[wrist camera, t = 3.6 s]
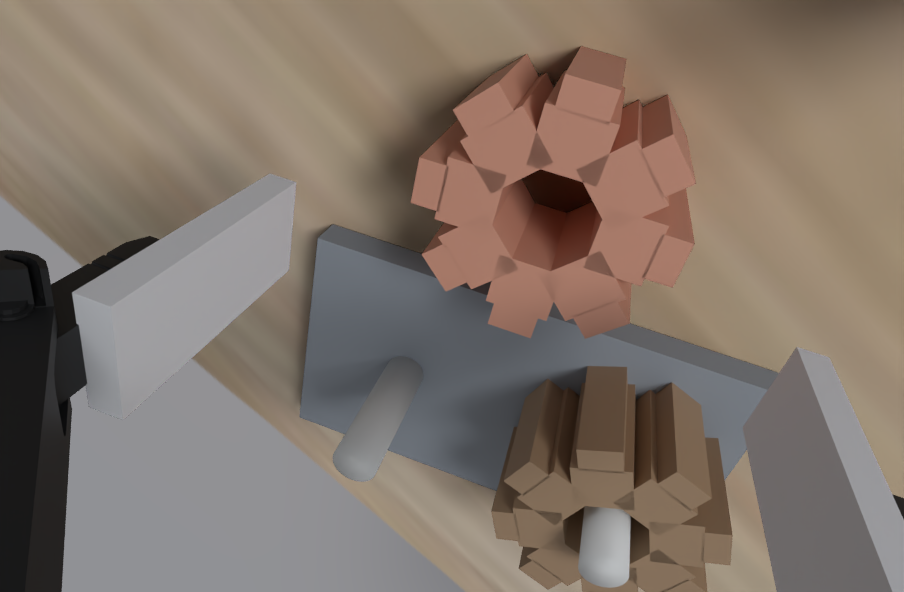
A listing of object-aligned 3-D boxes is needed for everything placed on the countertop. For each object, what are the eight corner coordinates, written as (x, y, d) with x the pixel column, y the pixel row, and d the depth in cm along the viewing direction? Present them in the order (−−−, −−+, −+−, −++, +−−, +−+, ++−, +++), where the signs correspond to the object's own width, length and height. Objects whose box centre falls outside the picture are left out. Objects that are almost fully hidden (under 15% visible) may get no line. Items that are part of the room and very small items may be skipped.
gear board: (312, 399, 33) (229, 514, 27) (332, 224, 27) (232, 317, 21) (669, 531, 31) (676, 693, 24) (778, 372, 25) (826, 531, 18)
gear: (433, 234, 26) (393, 291, 22) (482, 18, 21) (442, 38, 17) (632, 300, 25) (630, 372, 21) (731, 88, 20) (752, 128, 16)
